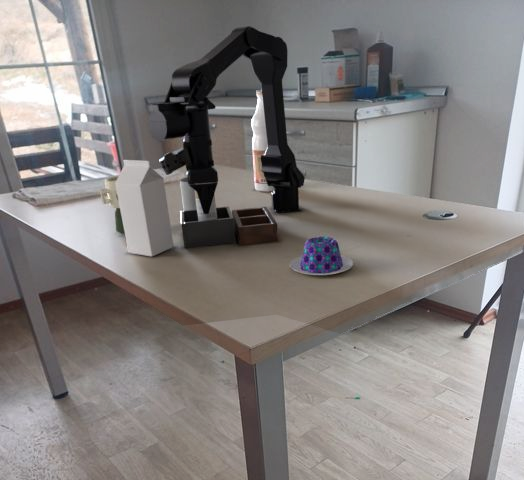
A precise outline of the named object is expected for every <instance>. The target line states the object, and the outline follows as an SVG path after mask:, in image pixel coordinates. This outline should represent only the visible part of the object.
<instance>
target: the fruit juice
mask: <svg viewBox="0 0 524 480" xmlns="http://www.w3.org/2000/svg"><path fill="white" fill-rule="evenodd" d="M255 91H256V97H257V104H256V109H255V112H254V114H253V116H252V117H251V121H250V126H251V130H252V133H253V136H252V139H251V151H252V163H253V165H252V167H253V180H254V188H255V191H258V192H273V186H268V185H267V181H266V178H265V176H264V173H263V172H262V163H261V155H265V152H266V150H267V147H268V144H267V135H266V125H265V116H264V107H263V97H262V89H257V90H255Z"/></svg>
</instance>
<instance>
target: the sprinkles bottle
mask: <svg viewBox="0 0 524 480" xmlns="http://www.w3.org/2000/svg"><path fill="white" fill-rule="evenodd" d="M195 195H196V205H197V212H198V220H199V221H204V220H214V219H217V211H216V208H217V205H216V196H214V197H213V200H212V204H211V207H210V211H209V214H204V213H203V210H202V207H201V203H200V200H199V197H198V194H197V191H195Z"/></svg>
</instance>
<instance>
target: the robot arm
mask: <svg viewBox="0 0 524 480" xmlns="http://www.w3.org/2000/svg"><path fill="white" fill-rule="evenodd" d="M230 32H231V33H230V34H228V35H227V36H226V37H225V38H224V39H223V40H221V41H220V42H219V43H218V44H216V46H214V47H213V48H212V49H211V50H210V51H209V52H207V53H206V54H205V55H204V56H202V57H201V58H200V59H198V60H195V61H192V62H189V63H187V64H186V63H185V64H184V65H182V66H180V67H178V68H176V69H175V70H174V71H173V73H172V74H171V83H170V85H169V89H168V91H167V94H166V97H165V100H164V102H163V103H161V102H160V103H159V102H157V103H152V104H151V109H152V111H150V114H149V116H148V121H147V127H148V131H149V134H150V135H151V137H152V138H153V139H154V140H155V141H157V142H164V141H170V140H175V139H182V138H183V141H182V147H181V148H179V149H176V150H174V151H169V152H168V153H164V154H163V156H162V157H161V158H159V163H160V165H161V168H162V169H163V172H164V173H165V175H166V176H169V175H171V174H173V172H175V171H177V170H179V169H181V168H183V167H185V169H186V177H187V178H188V184H189V186H190V187H192V188H193V189H194V190H195V191H197V194H198V197H199V200H200V203H201V207H202V210H203V213H204V214H209V211H210V207H211V204H212V200H213V197H214V195H215V193H216V189H217V186H218V182H219V176H218V175H219V173H218V170H217V169H216V167H215V161H214V156H213V142H212V137H211V125H210V117H209V110H215V109H216V105H215V104H214V103H213V101H211V100H210V99H209V97H208V96H209V95H210V94H211V92H212V91H213V89H214V88H215V87H216V85H217V80H218V78H219V77H220V76H221V75H222V74H223V73H224V72H225V71H226V70H227V69H229V67H230V66H232V65H233V64H234V63H235V62H236V61H238V59H240V58H241V57H242V56H243V57H245V58H246V59H248V60H250V63H251V68H252V71H253V73H254V75H255V76H256V78H257V79H258V81H259V82H260V87H261V90H262V97H263V107H264V116H265V125H266V135H267V144H268V147H267V150H266V152H265V155H261V163H262V172H263V173H264V176H265V178H266V181H267V185H268V186H273V191H270V195H271V208H272V209H273V211H275V213H276V214H281V213H282V214H283V213H291V212H299V211H301V207H300V198H299V197H300V195H299V189H300V188H302V187H303V186H304V184H305V180H306V176H305V175H304V173H302V171H301V170H300V169H299V168H298V166H297V162H296V155H295V154H294V152H293V150H292V149H291V148H290V146H289V144H288V134H287V123H286V112H285V111H286V110H285V98H284V89H283V88H284V87H283V79H284V76H285V73H286V71H287V68H288V54H289V53H288V45H287V42H286V41H284V39H283V38H282V37H280V36H275V35H273V34H269V33H267V32H263V31H260V30H259V29H256V28H255V27H254V26H253V27H252V26H249V25H248V26H247V25H246V26H240V27H239V26H238V27H236V28H234V29H232V31H230Z"/></svg>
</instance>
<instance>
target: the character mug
mask: <svg viewBox="0 0 524 480" xmlns="http://www.w3.org/2000/svg"><path fill="white" fill-rule="evenodd" d="M118 177H119V175H117V176H116V175H115V176H111V177H108V178H105V179H104V186H105V188H103V189H101V190H100V192H99V193H100V194H99V195H100V198H101V203H102V204H103V205H107V204H109V206H110V207H111V208H115V210H114V221H115V222H114V223H115V224H114V225H115V231H116V232H117V233H119V234H122V235H123V234H124V235H125V231H124V226H123V221H122V216H121V211H120V206H119V200H118V195H117V190H116V185H115V182H116V180H117V178H118ZM106 195H107V198H106Z"/></svg>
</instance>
